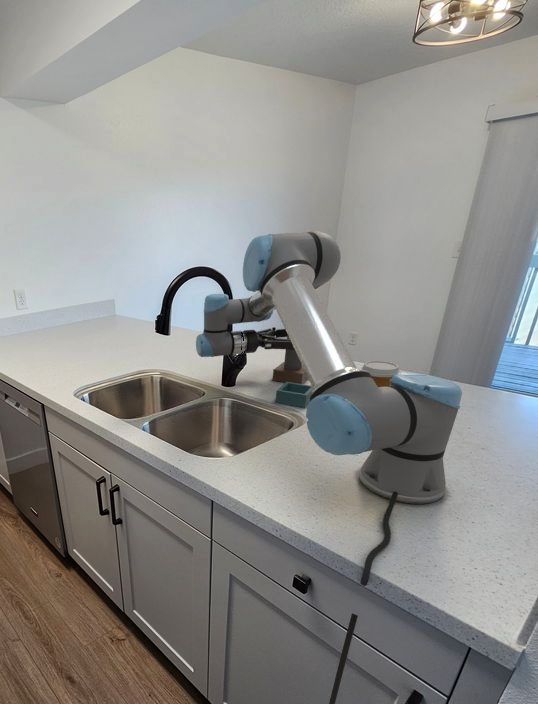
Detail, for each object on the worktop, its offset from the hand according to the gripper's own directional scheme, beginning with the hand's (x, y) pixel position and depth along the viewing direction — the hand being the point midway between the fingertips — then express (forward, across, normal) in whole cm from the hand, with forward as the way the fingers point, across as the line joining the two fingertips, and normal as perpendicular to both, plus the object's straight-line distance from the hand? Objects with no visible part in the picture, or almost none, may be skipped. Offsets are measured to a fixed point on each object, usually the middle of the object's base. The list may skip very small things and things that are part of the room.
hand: (303, 336), depth 146 cm
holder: (-11, +19, -15) cm, 26 cm away
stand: (-3, 0, -15) cm, 15 cm away
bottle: (-3, 0, -11) cm, 11 cm away
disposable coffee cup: (+9, +28, -15) cm, 33 cm away
